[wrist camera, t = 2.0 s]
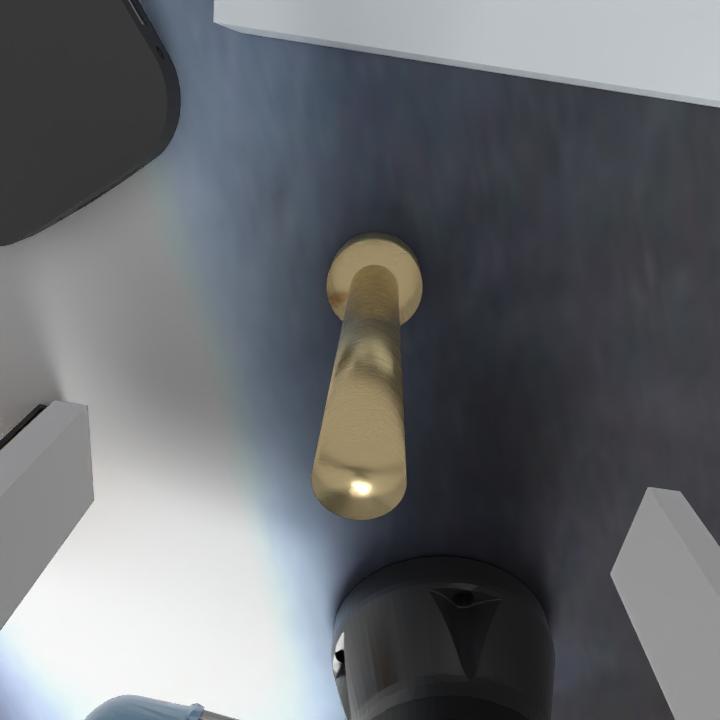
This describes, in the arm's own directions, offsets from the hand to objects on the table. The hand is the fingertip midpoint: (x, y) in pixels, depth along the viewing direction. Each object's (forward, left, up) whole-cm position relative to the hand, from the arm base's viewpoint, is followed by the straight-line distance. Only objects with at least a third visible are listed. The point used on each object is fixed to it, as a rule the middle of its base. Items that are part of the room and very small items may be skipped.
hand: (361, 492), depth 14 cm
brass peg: (0, 0, -19) cm, 19 cm away
